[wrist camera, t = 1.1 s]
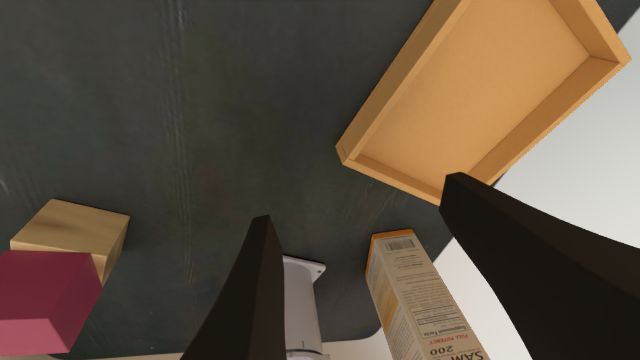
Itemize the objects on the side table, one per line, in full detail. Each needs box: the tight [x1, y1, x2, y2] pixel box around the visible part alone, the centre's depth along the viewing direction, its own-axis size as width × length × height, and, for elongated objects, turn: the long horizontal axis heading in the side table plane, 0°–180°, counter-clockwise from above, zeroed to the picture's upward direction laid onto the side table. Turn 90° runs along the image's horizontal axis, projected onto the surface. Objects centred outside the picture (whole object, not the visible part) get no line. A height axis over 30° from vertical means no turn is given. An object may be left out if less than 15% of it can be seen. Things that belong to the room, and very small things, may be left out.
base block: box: [10, 199, 130, 287], centre depth 20 cm, size 5×5×4 cm
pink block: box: [0, 250, 103, 356], centre depth 16 cm, size 4×4×4 cm
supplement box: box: [365, 229, 490, 360], centre depth 25 cm, size 8×5×13 cm, turn 0°
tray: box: [335, 0, 632, 206], centre depth 18 cm, size 15×13×3 cm
